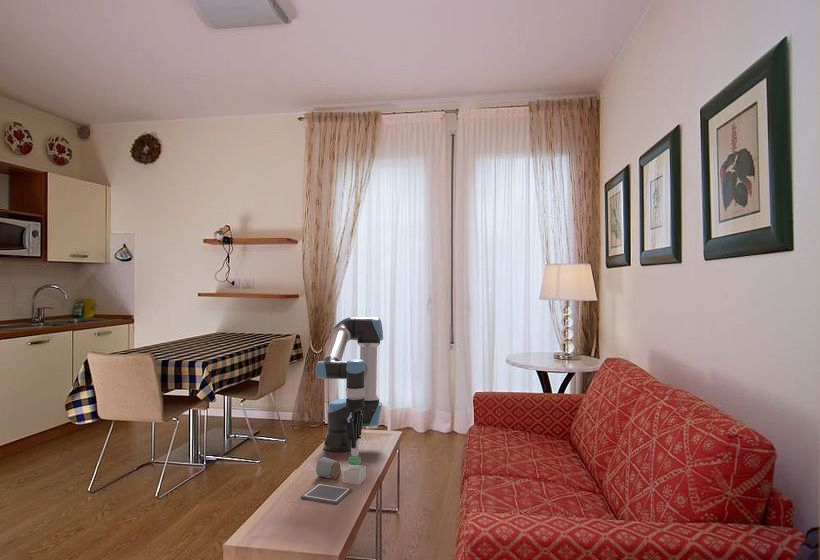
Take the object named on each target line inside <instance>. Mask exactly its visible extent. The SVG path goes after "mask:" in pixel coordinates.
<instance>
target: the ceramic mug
mask: <svg viewBox="0 0 820 560" xmlns="http://www.w3.org/2000/svg"><path fill="white" fill-rule="evenodd" d="M315 473H316V475H317V476H318V477H322V478H324V479H325V478H326V479H329V480H331V479H332V480H334V479H337V478H338V477H339V475H340V474H341V473H342V469H341V464H340V462H338V461H337V460H335V459H332V458H329V457H326V456H322V457H320V458H319V459H318V461H317V463H316V466H315Z"/></svg>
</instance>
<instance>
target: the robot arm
mask: <svg viewBox="0 0 820 560" xmlns="http://www.w3.org/2000/svg"><path fill="white" fill-rule="evenodd" d="M330 335H331V340H330V343H329V346H328V348H327V349H326V350H327V351H326V354H325V356H324V359H323V360H318V361H317V362H316V365H315V377H316V378H318V379H323V380H324V379H325V380H329V379H331V380H332V379H333V380H337V379H339V380H340V379H341V380H346V381H345V382H346V384H345V385H346V386H345V387H346V388H345V391H346V392H345V396H346V398H339V399H335V400H332V401H330V402H329V403H328V406H327V411H326V412H327V433H326V435H325V436H326V437H325V438H324V439H325V440H324V442H323V449H324V450H326V451H327V452H330V453H342V452H343V453H344V452H348V451H350V456H359V449H360V448H359V447H360V446H359V444H360V441H359V440H360V439H362V430H363V428H364V427H366V428H371V427H373V428H374V427H378V426H379V424H380V422H381V417H382V409H383V403H382V402H381V401H380V398H379V397H378V396H377V380H378V379H377V373H378V372H377V368H378V347H379V346H380V345H381V341H383V340H384V330H383V322H382V319H380V317H375V316H350V317H347V318H345V319H342V320H341V321H339V322H338V323H337V324H335V326H334V327H333V328H332V331H331V334H330ZM349 341H356V342H357V345H358V346H359V358H358V359H355V358H354V359H348V360H344V361H343V356H344V353H345V349H346V347H347V343H349Z"/></svg>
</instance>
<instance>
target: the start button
mask: <svg viewBox="0 0 820 560" xmlns="http://www.w3.org/2000/svg"><path fill="white" fill-rule="evenodd" d="M361 463H362V457H361V456H359V455H358V456H352V455H350V456H349V457H348V464H349V465H350V464H351V465H361Z"/></svg>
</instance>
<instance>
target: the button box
mask: <svg viewBox="0 0 820 560" xmlns="http://www.w3.org/2000/svg"><path fill="white" fill-rule="evenodd" d="M366 479H367V466H366V465H361V464H358V465H351V464H349V465H348V466H347V467H345V468H344V469H343V470H342V483H344V482H345V483H346V484H350V485H351V484H352V485H358V486H359V485H360V484H361V483H362V482H363V481H365V480H366Z"/></svg>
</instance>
